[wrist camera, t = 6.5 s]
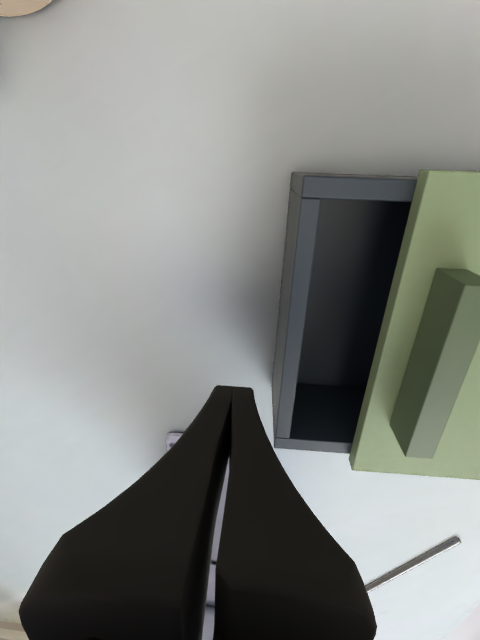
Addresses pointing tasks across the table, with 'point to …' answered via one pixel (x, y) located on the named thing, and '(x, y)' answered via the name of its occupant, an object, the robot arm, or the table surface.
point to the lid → (429, 341)
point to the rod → (413, 563)
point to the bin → (333, 302)
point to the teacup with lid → (21, 7)
